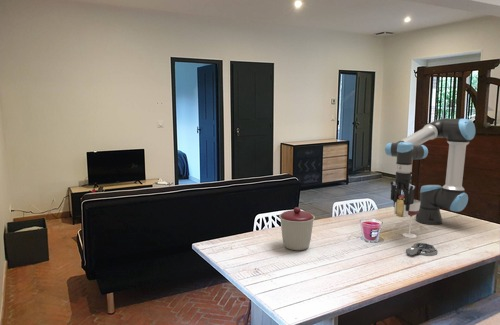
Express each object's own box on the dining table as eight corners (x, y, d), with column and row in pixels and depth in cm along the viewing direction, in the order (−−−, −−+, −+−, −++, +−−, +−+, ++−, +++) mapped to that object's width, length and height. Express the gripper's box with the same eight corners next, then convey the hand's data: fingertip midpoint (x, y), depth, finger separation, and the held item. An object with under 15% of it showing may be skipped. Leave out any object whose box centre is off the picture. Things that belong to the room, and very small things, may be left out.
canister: (313, 255, 180) (314, 213, 177) (276, 252, 184) (277, 211, 180) (314, 241, 197) (315, 203, 194) (281, 239, 201) (281, 202, 198)
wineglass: (416, 239, 201) (418, 203, 198) (399, 235, 206) (401, 201, 203) (419, 235, 208) (422, 200, 205) (403, 231, 213) (405, 198, 210)
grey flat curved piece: (420, 244, 193) (420, 237, 192) (442, 252, 183) (442, 245, 182) (398, 251, 184) (398, 244, 183) (419, 260, 173) (420, 252, 173)
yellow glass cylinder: (400, 213, 199) (401, 194, 197) (408, 216, 195) (409, 196, 193) (394, 215, 197) (395, 195, 195) (402, 217, 192) (403, 197, 191)
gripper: (384, 170, 198) (382, 212, 201) (414, 175, 182) (411, 220, 186) (393, 168, 201) (391, 210, 205) (423, 174, 186) (420, 218, 190)
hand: (400, 214), depth 195 cm, fingers closed on yellow glass cylinder, 5 cm apart
